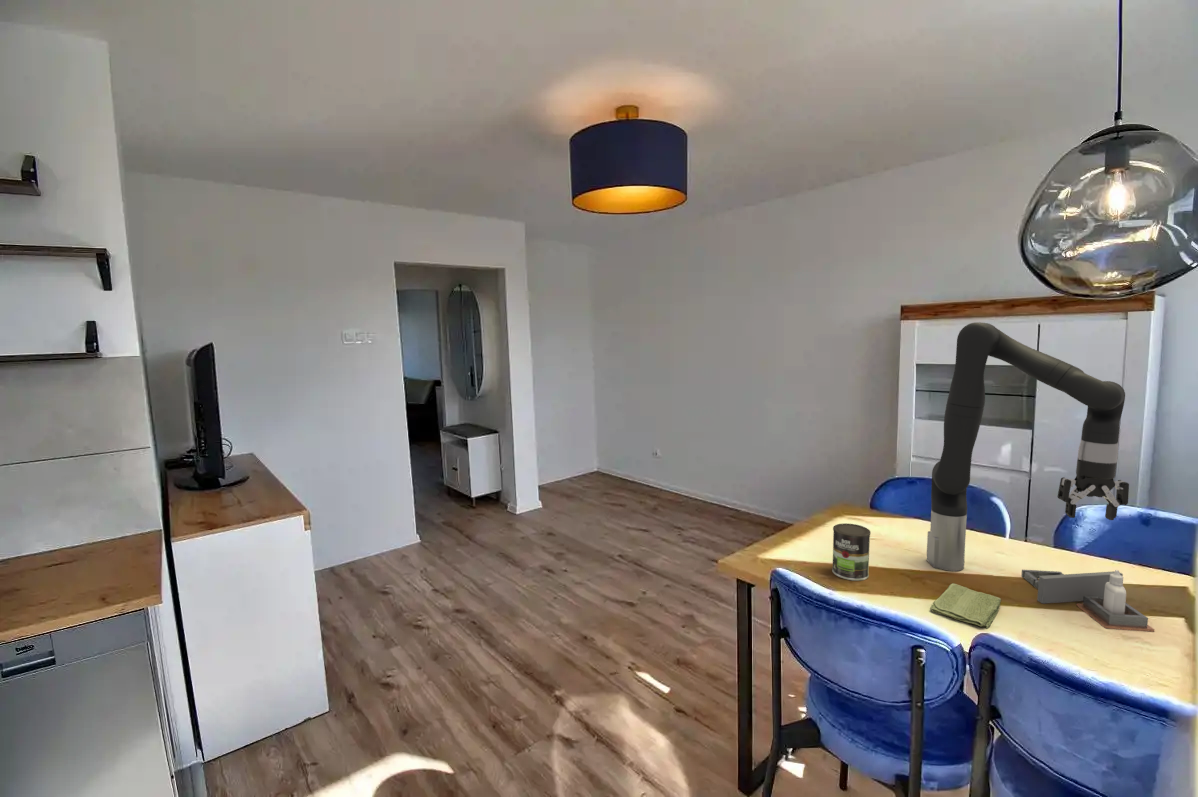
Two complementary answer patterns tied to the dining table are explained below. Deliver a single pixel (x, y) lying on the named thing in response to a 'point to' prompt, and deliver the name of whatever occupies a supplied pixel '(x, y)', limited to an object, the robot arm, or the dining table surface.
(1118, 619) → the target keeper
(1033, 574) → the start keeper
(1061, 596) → the grey divider panel
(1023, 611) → the dining table surface
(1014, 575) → the dining table surface
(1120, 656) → the dining table surface
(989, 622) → the washcloth
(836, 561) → the coffee can
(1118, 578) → the eye dropper bottle
